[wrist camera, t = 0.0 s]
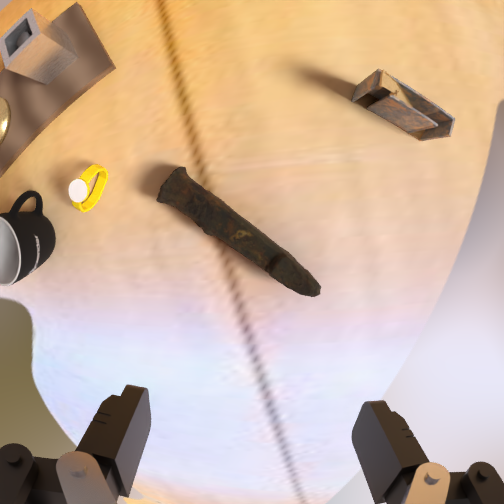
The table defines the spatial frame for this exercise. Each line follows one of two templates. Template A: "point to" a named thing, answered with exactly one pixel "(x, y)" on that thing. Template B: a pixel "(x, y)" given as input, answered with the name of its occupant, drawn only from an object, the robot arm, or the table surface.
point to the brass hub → (4, 118)
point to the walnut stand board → (51, 85)
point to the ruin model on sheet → (405, 107)
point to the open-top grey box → (37, 48)
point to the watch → (88, 188)
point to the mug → (24, 240)
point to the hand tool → (235, 231)
